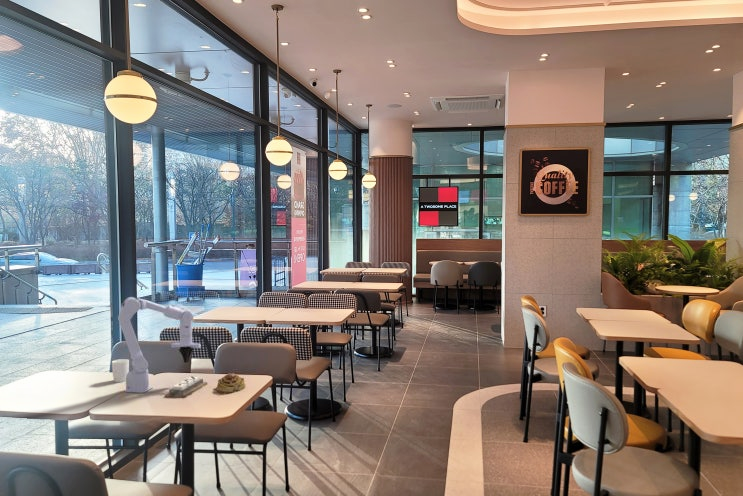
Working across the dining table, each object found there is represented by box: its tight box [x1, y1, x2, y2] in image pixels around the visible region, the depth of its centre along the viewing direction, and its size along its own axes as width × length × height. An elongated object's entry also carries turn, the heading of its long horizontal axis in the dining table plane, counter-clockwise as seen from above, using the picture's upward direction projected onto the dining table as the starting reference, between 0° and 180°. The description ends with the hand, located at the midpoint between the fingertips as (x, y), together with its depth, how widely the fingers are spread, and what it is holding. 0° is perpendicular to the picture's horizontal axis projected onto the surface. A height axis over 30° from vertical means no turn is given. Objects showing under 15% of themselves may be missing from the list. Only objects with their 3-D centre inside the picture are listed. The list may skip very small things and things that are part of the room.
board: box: [164, 378, 208, 399], centre depth 249 cm, size 10×21×3 cm, turn 170°
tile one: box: [172, 383, 187, 390], centre depth 243 cm, size 5×5×3 cm
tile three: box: [185, 375, 201, 383], centre depth 255 cm, size 5×5×3 cm
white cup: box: [111, 358, 130, 383], centre depth 267 cm, size 8×8×10 cm
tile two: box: [179, 379, 194, 386], centre depth 249 cm, size 5×5×3 cm
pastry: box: [216, 373, 246, 394], centre depth 251 cm, size 13×15×8 cm
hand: (186, 362), depth 261 cm, fingers closed
